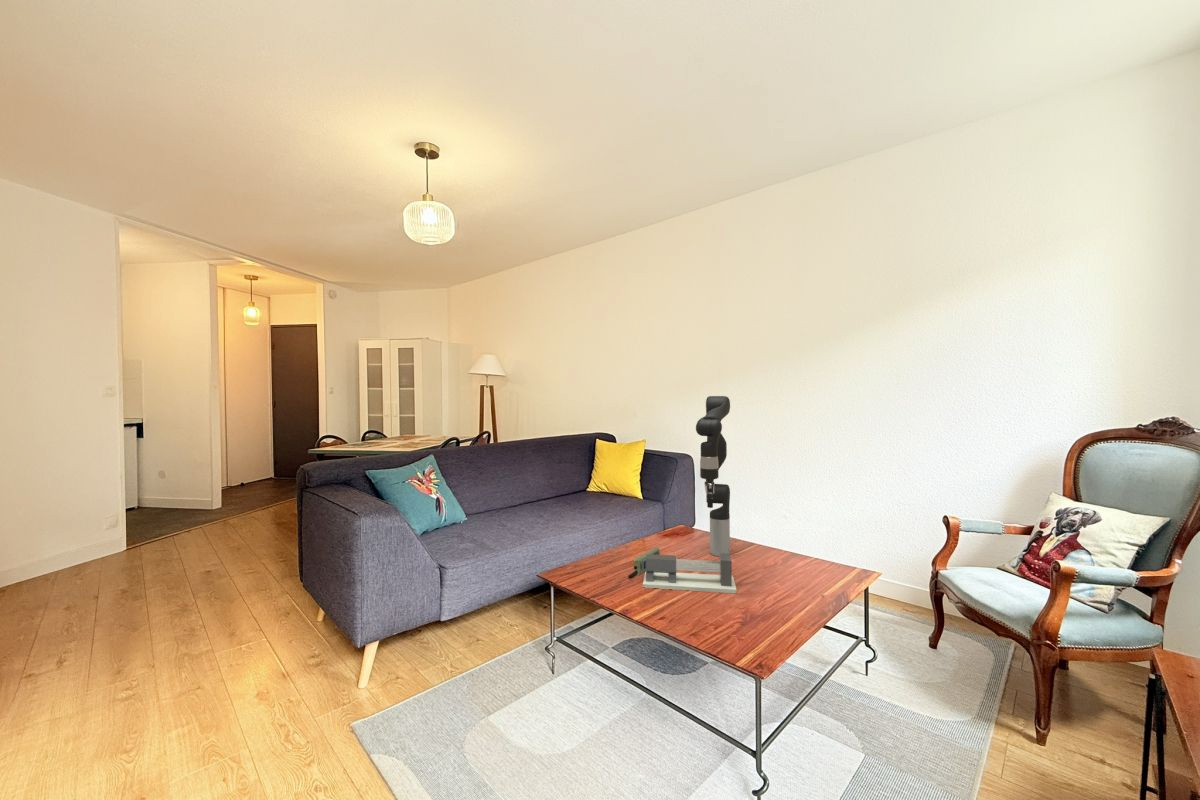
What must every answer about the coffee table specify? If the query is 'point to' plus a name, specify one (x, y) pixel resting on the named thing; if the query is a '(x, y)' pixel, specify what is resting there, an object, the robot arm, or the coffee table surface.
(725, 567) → the socket
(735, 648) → the coffee table surface
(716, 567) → the silver metal bar
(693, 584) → the base board
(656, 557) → the sleeve
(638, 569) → the handheld radio
